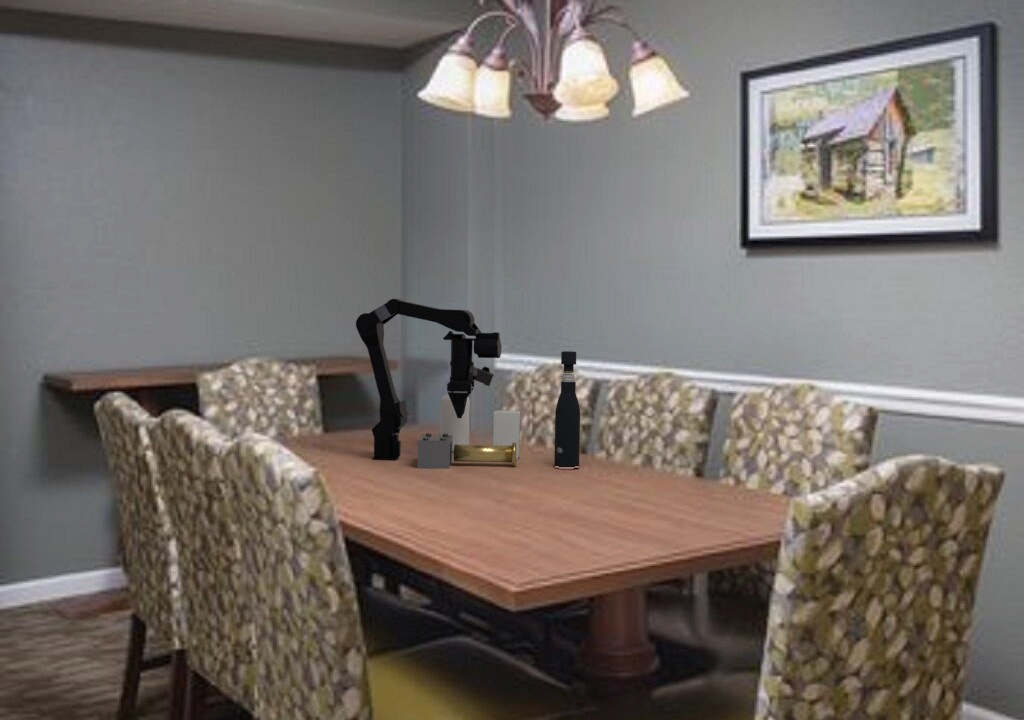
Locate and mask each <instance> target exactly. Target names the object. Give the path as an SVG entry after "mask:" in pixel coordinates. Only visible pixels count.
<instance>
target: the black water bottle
mask: <svg viewBox="0 0 1024 720" xmlns="http://www.w3.org/2000/svg"><path fill="white" fill-rule="evenodd" d="M560 365H563V374H562V376H561V377H562V378H561V381H560V394H559V396H558V399H557V402H556V407H555V410H554V411H555V412H554V457H553V458H554V461H553V463H554V465H555V466H559V467H575V466H579V467H580V443H581V440H580V439H581V438H580V437H581V409H580V408H581V407H580V402H579V400H578V397H577V393H576V392H577V391H576V387H577V386H576V385H577V384H576V382H577V381H575V380H576V379H575V377H576V376H575V374H573V373H574V372H575V371H574V365H577V351H573V350H572V351H570V350H569V351H568V350H565V351H561V356H560ZM554 465H553V466H554Z"/></svg>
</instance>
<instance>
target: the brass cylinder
mask: <svg viewBox="0 0 1024 720" xmlns="http://www.w3.org/2000/svg"><path fill="white" fill-rule="evenodd" d="M453 461H454V462H459V463H460V462H461V463H462V462H464V463H465V462H466V463H467V462H468V463H511V466H512V465H516V466H517V459H516V442H513V443H512V446H510V445H493V444H469V445H456V444H455V445H454V452H453Z"/></svg>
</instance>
